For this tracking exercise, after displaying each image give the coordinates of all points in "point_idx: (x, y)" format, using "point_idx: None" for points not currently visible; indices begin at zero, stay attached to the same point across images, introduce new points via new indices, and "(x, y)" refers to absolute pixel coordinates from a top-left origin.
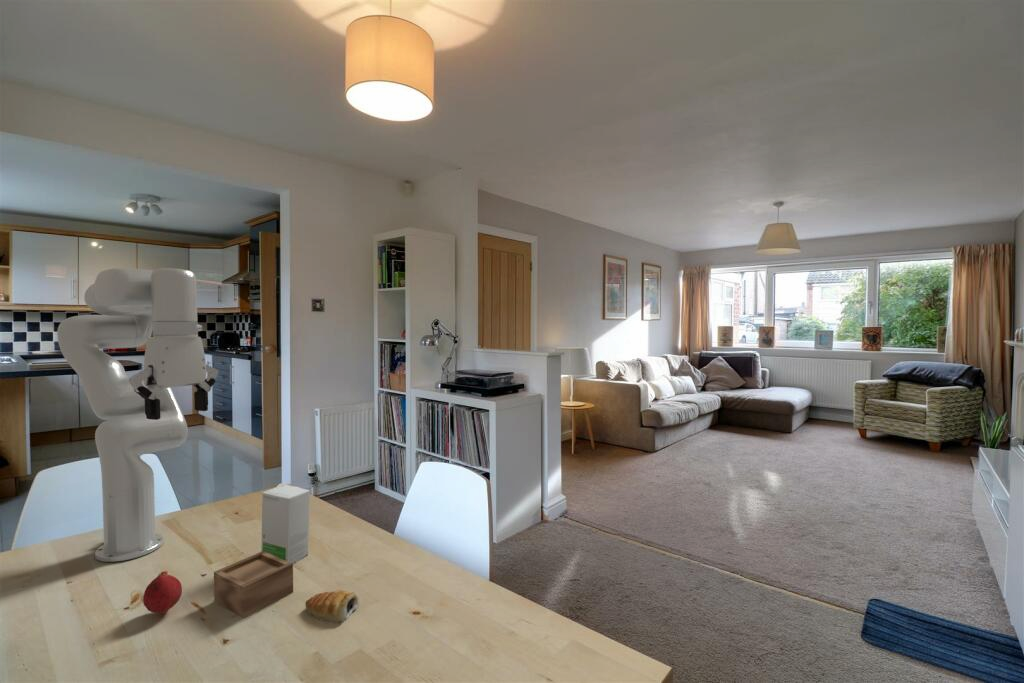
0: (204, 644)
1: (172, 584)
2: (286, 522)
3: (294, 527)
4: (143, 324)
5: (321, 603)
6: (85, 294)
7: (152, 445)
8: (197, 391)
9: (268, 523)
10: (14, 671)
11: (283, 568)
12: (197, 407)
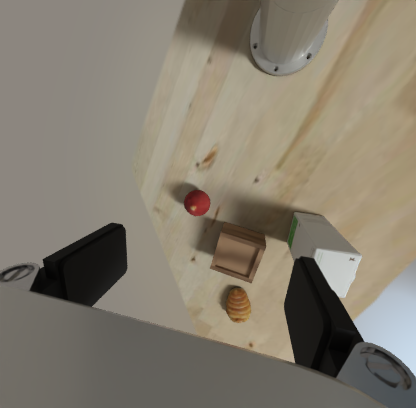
0: (186, 250)
1: (195, 215)
2: None
3: None
4: None
5: (229, 305)
6: None
7: None
8: (326, 355)
9: (301, 239)
10: (132, 166)
11: (242, 279)
12: (293, 280)
